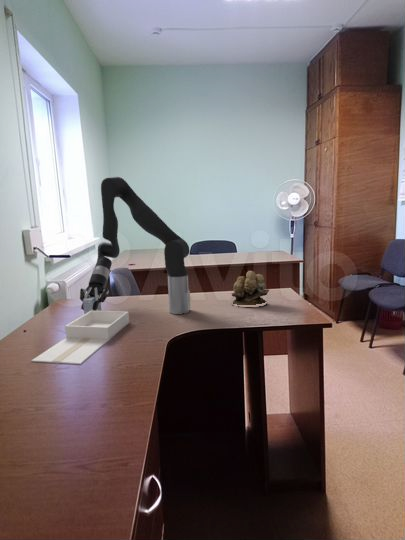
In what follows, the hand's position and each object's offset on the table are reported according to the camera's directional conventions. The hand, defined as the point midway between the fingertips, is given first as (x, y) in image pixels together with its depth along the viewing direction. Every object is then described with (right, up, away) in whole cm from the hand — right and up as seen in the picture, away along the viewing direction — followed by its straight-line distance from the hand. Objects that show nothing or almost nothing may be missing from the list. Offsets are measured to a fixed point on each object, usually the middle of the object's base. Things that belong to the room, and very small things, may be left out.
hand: (88, 309), depth 147 cm
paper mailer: (+8, -8, -24) cm, 26 cm away
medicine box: (+1, -4, +4) cm, 6 cm away
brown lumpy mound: (+74, +1, +14) cm, 75 cm away
